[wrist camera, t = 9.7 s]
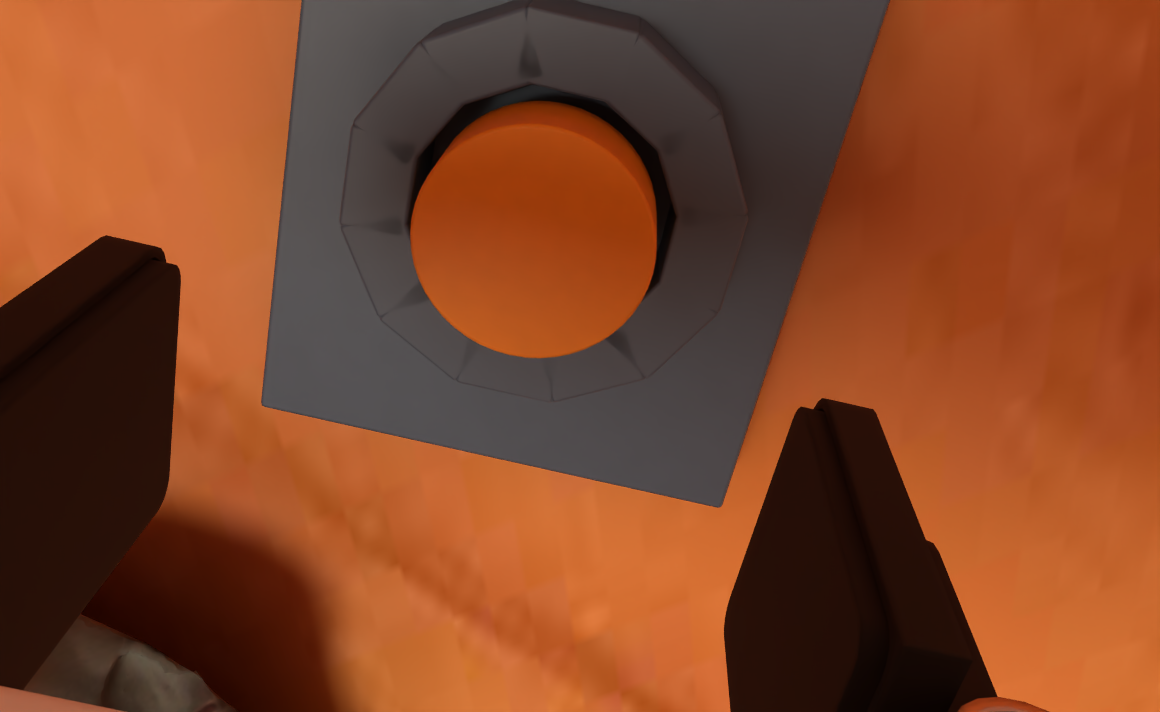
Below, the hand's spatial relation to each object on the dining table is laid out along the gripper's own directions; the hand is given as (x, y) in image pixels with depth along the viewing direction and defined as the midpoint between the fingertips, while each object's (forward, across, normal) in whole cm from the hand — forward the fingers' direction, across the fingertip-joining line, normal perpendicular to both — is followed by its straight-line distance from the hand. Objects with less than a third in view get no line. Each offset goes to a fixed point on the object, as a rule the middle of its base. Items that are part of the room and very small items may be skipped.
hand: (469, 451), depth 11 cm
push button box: (+12, 0, 0) cm, 12 cm away
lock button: (+8, 0, 0) cm, 8 cm away
